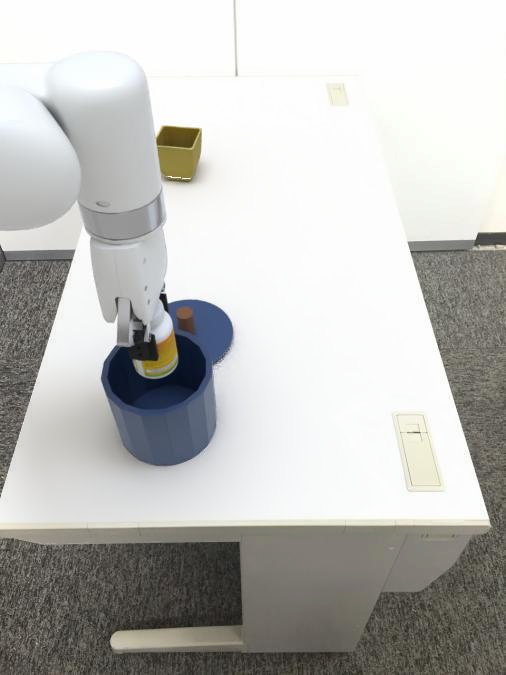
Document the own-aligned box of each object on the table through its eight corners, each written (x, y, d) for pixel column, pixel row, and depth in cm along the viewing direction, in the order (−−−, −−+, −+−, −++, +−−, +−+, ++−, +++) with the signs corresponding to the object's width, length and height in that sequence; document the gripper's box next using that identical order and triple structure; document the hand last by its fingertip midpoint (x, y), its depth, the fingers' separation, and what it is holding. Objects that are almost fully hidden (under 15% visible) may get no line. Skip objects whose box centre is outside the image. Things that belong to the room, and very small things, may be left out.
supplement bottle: (187, 357, 66) (179, 301, 58) (159, 387, 63) (148, 332, 55) (153, 339, 68) (141, 283, 60) (125, 367, 65) (109, 312, 57)
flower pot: (156, 184, 114) (150, 145, 108) (167, 162, 120) (162, 124, 113) (196, 188, 114) (193, 149, 107) (205, 165, 119) (202, 127, 112)
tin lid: (158, 386, 80) (153, 362, 75) (130, 320, 88) (124, 295, 84) (248, 354, 84) (248, 330, 79) (213, 294, 92) (211, 269, 88)
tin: (135, 481, 70) (118, 431, 60) (109, 402, 78) (89, 347, 68) (231, 443, 73) (229, 390, 64) (196, 371, 81) (189, 315, 72)
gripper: (107, 153, 54) (136, 284, 67) (49, 266, 43) (98, 396, 56) (181, 157, 53) (195, 288, 67) (142, 272, 42) (168, 401, 56)
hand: (150, 336), depth 61 cm, fingers closed on supplement bottle, 5 cm apart
